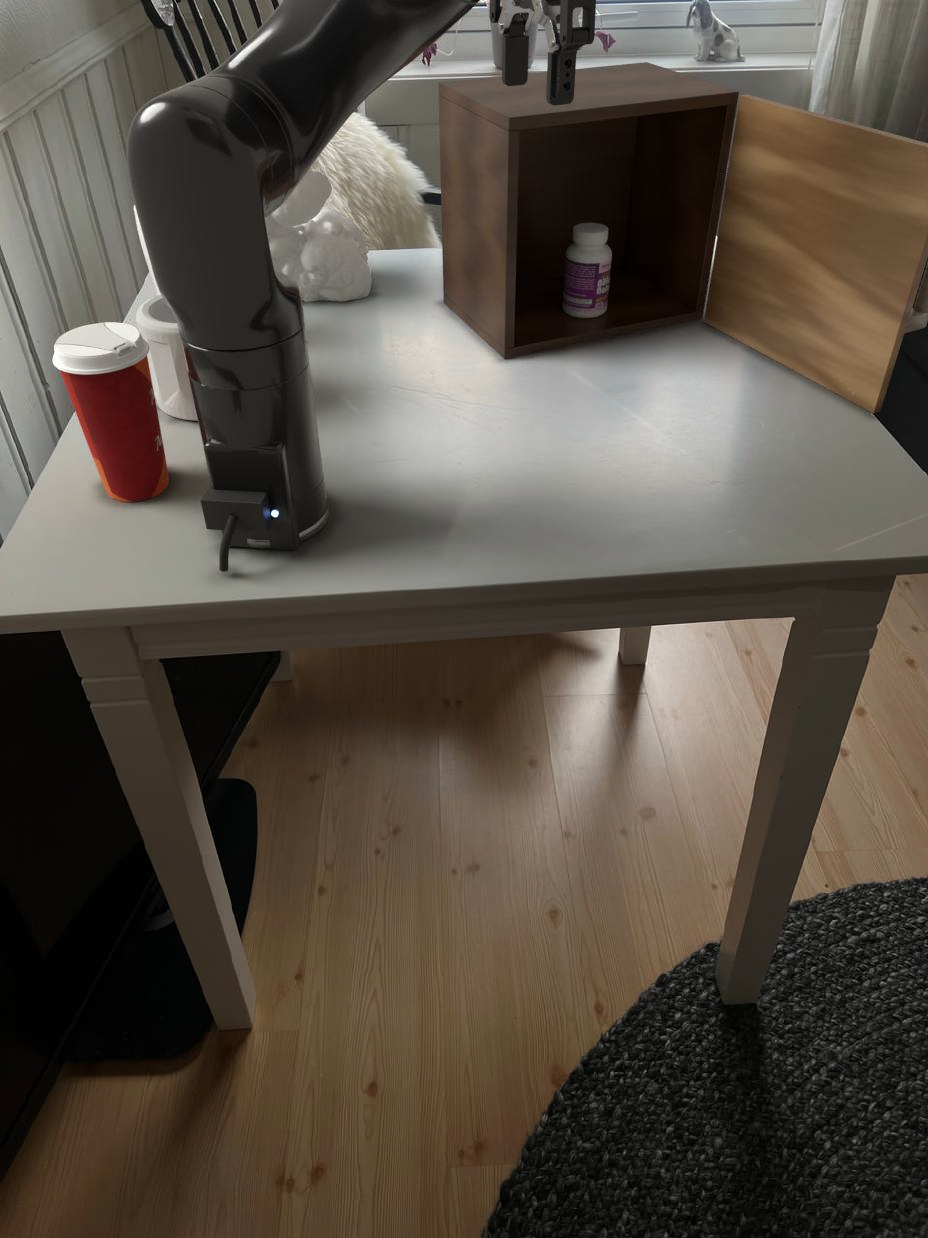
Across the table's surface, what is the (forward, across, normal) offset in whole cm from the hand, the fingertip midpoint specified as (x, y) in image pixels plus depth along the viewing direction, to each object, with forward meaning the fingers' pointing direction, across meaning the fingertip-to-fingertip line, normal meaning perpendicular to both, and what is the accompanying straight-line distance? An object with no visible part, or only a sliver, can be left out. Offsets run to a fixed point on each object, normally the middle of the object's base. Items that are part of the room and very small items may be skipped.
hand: (536, 93), depth 80 cm
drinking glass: (+28, +30, +29) cm, 50 cm away
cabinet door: (+28, -5, -32) cm, 43 cm away
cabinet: (+28, +18, -15) cm, 37 cm away
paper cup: (+28, -1, +40) cm, 49 cm away
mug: (+28, +14, +31) cm, 44 cm away
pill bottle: (+27, +15, -15) cm, 34 cm away
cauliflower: (+28, +39, +14) cm, 51 cm away
